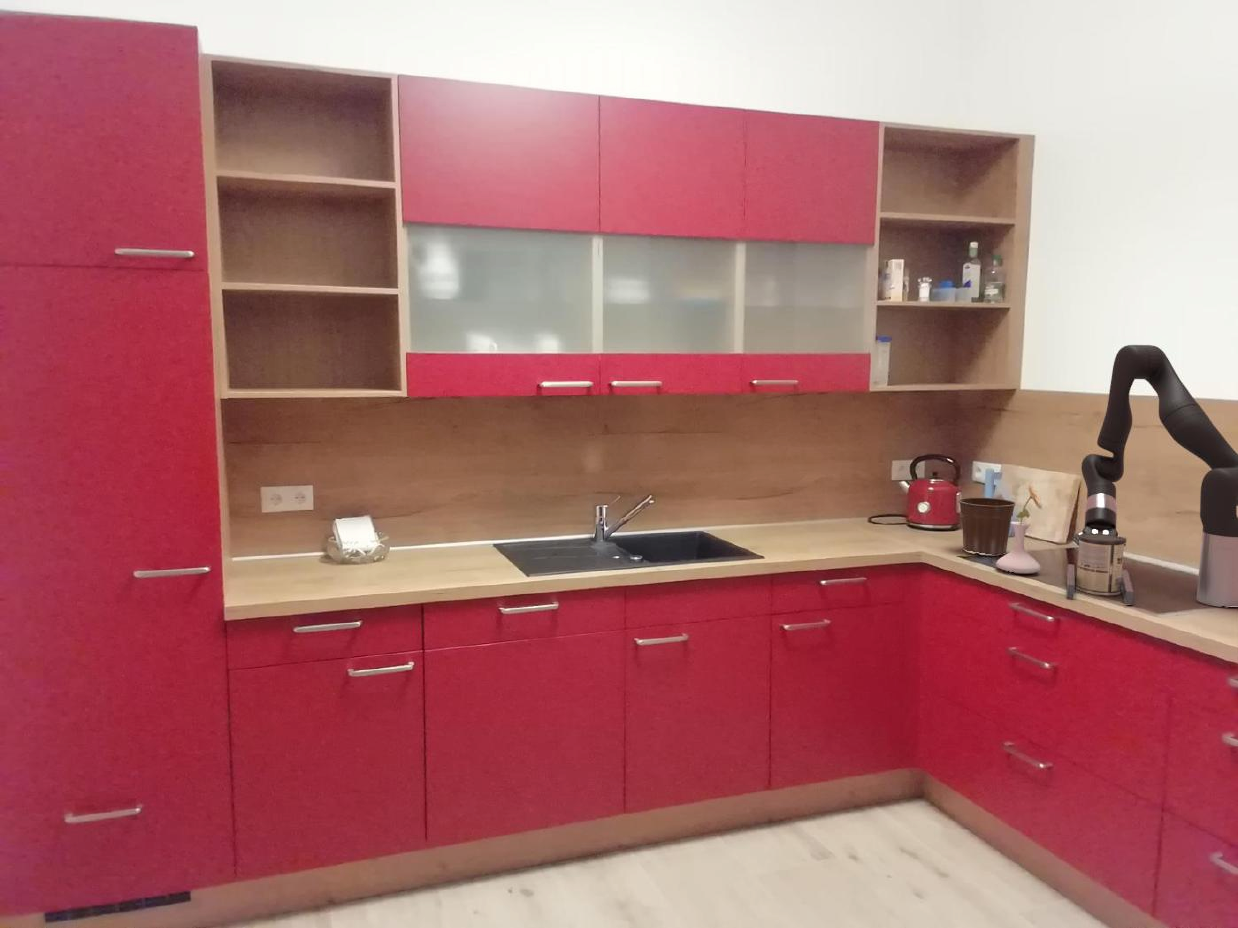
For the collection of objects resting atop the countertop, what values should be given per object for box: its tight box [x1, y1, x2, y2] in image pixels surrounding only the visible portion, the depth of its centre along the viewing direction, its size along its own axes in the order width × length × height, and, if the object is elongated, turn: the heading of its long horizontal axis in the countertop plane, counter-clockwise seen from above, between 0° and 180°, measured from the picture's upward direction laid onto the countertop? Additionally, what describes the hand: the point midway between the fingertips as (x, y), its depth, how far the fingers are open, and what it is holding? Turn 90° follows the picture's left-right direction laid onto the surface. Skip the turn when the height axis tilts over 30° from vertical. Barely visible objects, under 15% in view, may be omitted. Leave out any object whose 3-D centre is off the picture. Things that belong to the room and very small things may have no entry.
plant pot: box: [957, 497, 1017, 555], centre depth 266 cm, size 16×16×16 cm
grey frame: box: [1066, 563, 1135, 606], centre depth 222 cm, size 14×26×4 cm, turn 152°
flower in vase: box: [995, 482, 1044, 575], centre depth 241 cm, size 13×11×25 cm
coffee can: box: [1075, 533, 1125, 597], centre depth 221 cm, size 10×10×14 cm
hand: (1098, 566), depth 227 cm, fingers closed
